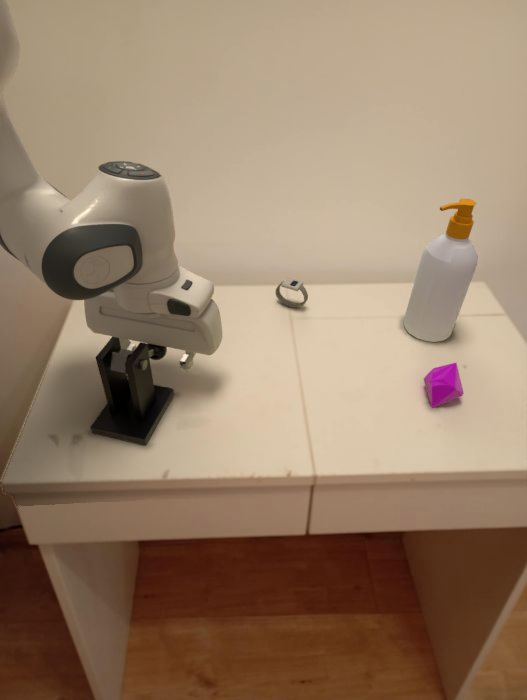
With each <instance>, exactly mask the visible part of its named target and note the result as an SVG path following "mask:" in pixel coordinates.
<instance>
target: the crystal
mask: <svg viewBox="0 0 527 700" xmlns="http://www.w3.org/2000/svg"><path fill="white" fill-rule="evenodd" d="M423 381H424V382H423V383H424V385H425V389H426V393H427V395H428V400H429V403H430V407H431V409H433V408H435V407H437V406H440V405H444V404H445V403H449V402H450V401H453V400H456V399H458V398H460V397H463V396H464V389H463V384H462V381H461V376H460V372H459V368H458V364H457V362H452V363H449V364H445V365H440V366H437V367H433V368H431V370H430V371H429V372H428V373H427V374H426V375H425V376H424V377H423Z"/></svg>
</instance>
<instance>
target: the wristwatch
mask: <svg viewBox="0 0 527 700" xmlns="http://www.w3.org/2000/svg"><path fill="white" fill-rule="evenodd" d="M281 288H285V289H289V290H291V291H295V292H299V291H300V292H301V294H302V295H303V301H302V302H298V303H296V302H291V301H289V300H288V299H287V298H285V297H284V296H283V295H282V293H281V290H280V289H281ZM275 296H276V298H277V300H278V301H280V303H281V304H283V305H285V306H287V307H289V308H294V309H295V308H300V307H303V306H305V304H306V303H307V302H308V300H309V293H308V291H307V288H306V287H305V286H304V282H303V281H300V280H297V279H293V278H290V277H286V279H285V280H282V281H281V282H280V283H279V284H278V285H277V287H276V288H275Z"/></svg>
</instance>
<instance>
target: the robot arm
mask: <svg viewBox="0 0 527 700" xmlns="http://www.w3.org/2000/svg"><path fill="white" fill-rule="evenodd" d="M20 45H21V44H20V40H19V37H18V34H17V29H16V27H15V24H14V20H13V17H12V13H11V11H10V8H9V5H8V3H7V0H0V246H1V247H2V249H3V250H4V251H6V253H8V254H9V255H11V256H12V257H13V258H15V259H16V260H18V261H19V262H21V264H22V265H23V266H25V267H26V268H27V269H28V270H29V271H30V272H31V273H32V274H33V275H34V276H36V278H38V279H39V280H40V282H42V283H43V284H44V285H45V286H46V287H48V288H49V289H50V290H51V291H52V292H53V293H54V294H56V295H58V296H59V297H61V298H64V299H66V300H70V301H83V306H84V316H85V323H86V326H87V328H88V329H89V330H90V332H92V333H94V334H100V335H102V336H103V335H104V336H109V337H111V338H112V337H116V338H119V341H120V345H121V349H125V350H130V351H134V350H135V349H136V347H137V344H135V343H132V342H131V341H133V342H138V343H140V342H141V343H149V344H154V345H159V346H164V347H167V348H169V349H174V350H180V351H184V352H185V353H183V354H182V357H181V358H180V360H179V365H180V366H179V368H180V369H182V370H185V371H186V370H187V371H191V370H192V368H193V366H194V358H195V356H196V355H197V354H199V355H200V354H201V355H206V356H212V355H213V354H215V353H216V352H217V351H218V349H219V348H220V345H221V343H222V341H223V325H222V324H223V323H222V318H221V312H220V309H219V306H218V305H217V303H216V301H215V300H214V299H213V296H214V293H215V285H214V283H213V281H211V280H209V279H207V278H205V277H202V276H200V275H198V274H196V273H195V272H192V271H190V270H188V269H186V268H185V267H183V266H181V265H179V259H178V257H177V255H176V252H175V248H174V245H175V240H176V226H175V218H174V211H173V205H172V200H171V194H170V192H169V188H168V185H167V183H166V181H165V178H164V176H163V175H162V174H160V172H158V171H157V170H155V169H154V168H152V167H149V166H147V165H144V164H142V163H137V162H132V161H125V160H116V161H107V162H105V163H102V164H100V165H98V166H97V168H96V171H95V174H94V175H93V177H92V179H91V180H90V181H89V182H88V184H87V185H86V186H85V187H84V188H83V189H82V190H81V192H79V193H78V194H77V195H76V196H74V198H72V199H69V198H68V197H67V196H66V195H65V194H63V193H62V192H61V191H60V190H58V189H57V188H56V187H54V186H53V185H52V184H51V183H49V182H48V181H47V180H46V179H45V178H44V177H43V176H42V175H41V174H40V173H39V171H38V169H37V167H36V165H35V163H34V161H33V159H32V158H31V156H30V153H29V152H28V149H27V148H26V145H25V143H24V142H23V139H22V137H21V136H20V134H19V132H18V130H17V128H16V126H15V124H14V122H13V120H12V118H11V116H10V114H9V111H8V108H7V105H6V100H5V90H6V88H7V86H9V84H10V82H11V81H12V79H13V78H14V75H15V73H16V71H17V68H18V65H19V60H20V53H21V46H20Z"/></svg>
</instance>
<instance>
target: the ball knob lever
mask: <svg viewBox="0 0 527 700" xmlns="http://www.w3.org/2000/svg"><path fill="white" fill-rule="evenodd" d="M147 347H148V353H149V359H150V360H152V361H160V360H162V359H163V358H164V357H166V355H167V353H168V347H164V346H159V345H154V344H149V343H147ZM133 352H134V351H130V350H125V349H121V350H117V351H114V352H112V356H111V366H110V370H113V371H118V372H122V373H127V372H126V367H125V363H126V361H127V360H128V358H129V357H130V356H131V354H132V353H133Z"/></svg>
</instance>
